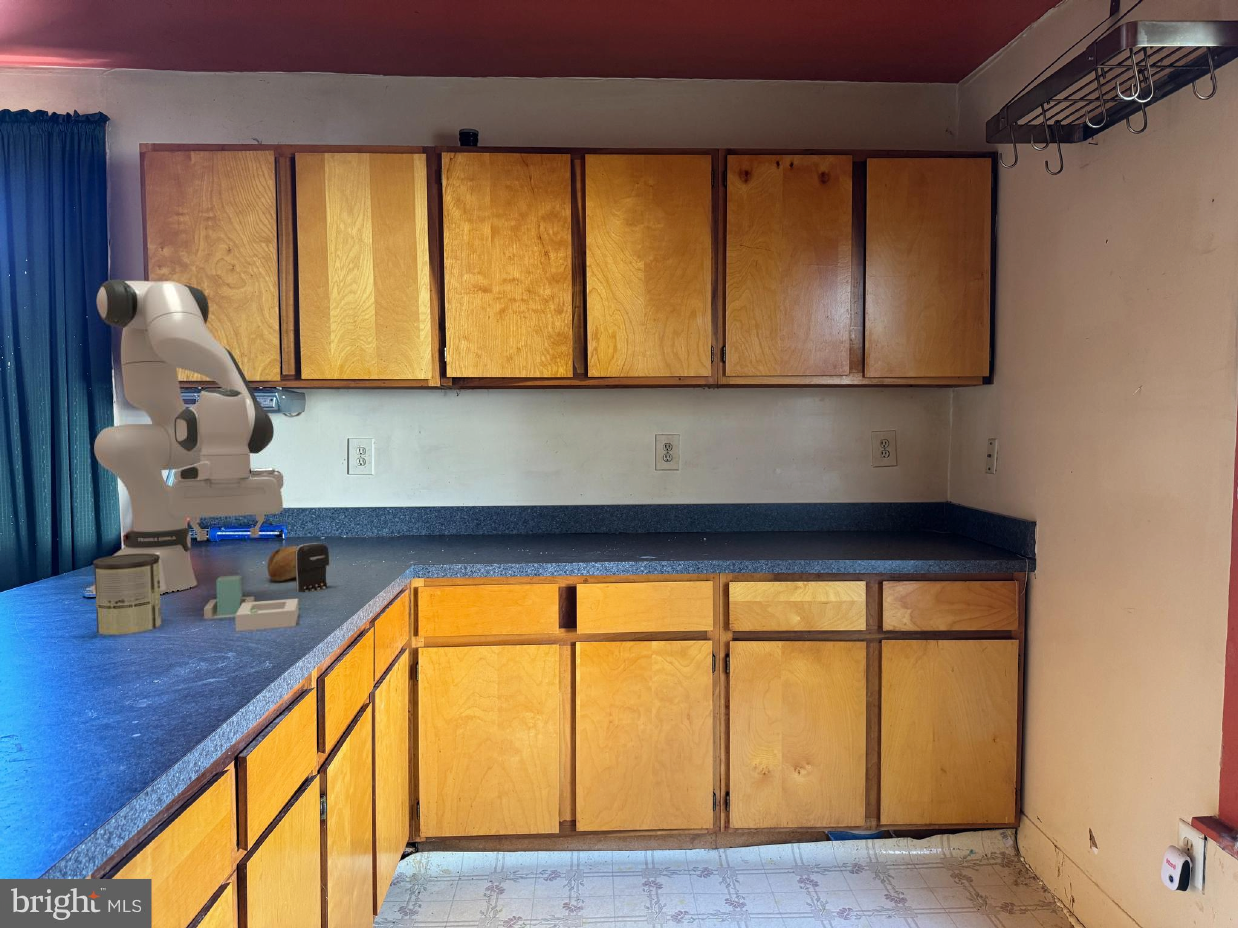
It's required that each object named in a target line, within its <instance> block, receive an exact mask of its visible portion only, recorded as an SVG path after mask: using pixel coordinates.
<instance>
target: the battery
mask: <svg viewBox="0 0 1238 928" xmlns="http://www.w3.org/2000/svg"><path fill="white" fill-rule="evenodd" d="M328 566H330V553H329V547H328V546H327V545H326V544H323V543H320V542H313V543H312V542H311V543H307V544H301V545H298V546H297V549H296V551H295V569H296V577H295V579H296V582H295V583H296V592H298V593H305V592H306V593H307V592H310V591H316V589H317V590H320V589H326V588H328V583H327V567H328Z"/></svg>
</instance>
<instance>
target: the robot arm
mask: <svg viewBox="0 0 1238 928" xmlns="http://www.w3.org/2000/svg"><path fill="white" fill-rule="evenodd" d="M96 307H97V310H98V313H99V315H100V317H101V319H102V321H104V322H105V324H107V325H109V326H112V327H117V328H121V329H122V335H121V342H120V343H121V344H120V360H121V361H120V362H121V363H120V364H121V372H122V381H123V391H124V394H123V395H124V396H125V399H126V400H127V402H128V403H130V405H132V406H133V407H135V408H137V409H139V410H142V411H143V412H144V413H145V414H146V415H147V416H148V417H149V418H150V421H151V423H135V424H134V423H125V424H119V425H114V426H109V427H106V428H103V429H102V430H101V431H100V432H99V433H98V435H97V437H96V438H95V441H94V446H93V447H94V449H93V452H94V455H95V457H96V460H97V461H98V463H99V464H100V465H101V466H102V467H103V468H105V470H107V471H110V472H111V473H112V474H114V475H115V476H116V477H117V478H118V479H119V480H120V481H121V483H122V484H123V486H124V487H125V489H126V491H127V494H128V497H129V499H130V506H131V507H130V508H131V514H132V529H130V530H127V531H126V532H125V534H123V535H122V539H121V540H122V543H123V546H124V547H122V548H121V549H120V550H118V551H117V552H116V553H114V554H113V555H112V556H116V555H124V554H140V553H147V554H148V553H149V554H157V555H159V556H160V559H159V576H160V594H161V595H163V593H165V592H168V593H173V592H172V591H174V592H178V591H177V590H179V591H184V590H187V589H190V587H191V588H193V587H195V586H197V585H198V582H197V580H196V576H195V574H194V570H193V566H192V561H191V556H190V555H191V554H190V553H191V552H190V550H191V547H192V546H191V545H192V542H191V541H192V540H191V530H190V527H189V526H188V519H189V525H190V526H191V527H192V528H193V530H194V532H195V533H196V539H197V542H198V541H206V540H207V539H208V535H207V533H208V532H207V530H202V528H201V527H200V526H199V524H198V523H200V522H201V521H200V519H201V518H215V517H232V516H233V517H234V516H235V517H237V516H253V515H254V516H255V521H258V522H257V523H256V525H255V527H251V528H249V532H250V538H259V537H260V527H261V525H262V524H263V522H264V521H265V515H277V514H280V513H281V512H282V510H283V508H284V501H283V496H282V491H281V490H282V488H283V487H284V475H283V473H282V472H281V471H280V470H276V469H275V467H273V468H272V467H271V468H251V454H260V453H261V452H262V451H264V450H265V449H267V447H268V446H269V445H270V443H272V441H273V439H274V435H275V434H274V429H275V428H274V424H273V421H272V418H271V417H270V415H269V414H268V412H267V411H266V410H265V408H263V406H262V405H261V403H260V401H259V400H258V399H257V397H256V395H255V393H254V391H253V388H252V386H251V385H250V383H249V381H248V380H247V377H246V376H245V374H244V372H243V370H242V368H241V367H240V364H239V363H238V361H237V359H236V357H235V356H234V355H233V353H232V352H231V350H230V349H228V348H226V347H225V346H224V345H222V344H221V343H220V342H218V340H217V339H216V338H214V336H213V335H212V334H211V332H210V331H209V329H208V328H207V326H206V324H207V323H208V319H209V316H210V306H209V300H208V297H207V295H206V294H205V293H204V291H203V290H201V289H200V288H198V287H195V286H191V285H188V284H184V285H183V284H181V283H179V282H177V281H172V280H165V281H157V280H154V281H151V280H150V281H148V280H124V279H111V280H106V281H104V282H103V283H102V284H101V285H100V287H99V290H98V293H97V296H96ZM178 369H181V370H185V371H189V372H191V373H195V374H198V375H201V376H204V377H206V378H208V379H211V380H213V381H214V382H215V383H217V384H218V385H219V386H220V387H211V388H210V387H209V388H206V389H203V390H202V391H200V393H199V399H198V401H197V402H196V403H195V404H194V405H192V406H190V407H186V404H185V403H184V400H183V396H182V394H181V388H180V382H179V377H178ZM170 470H171V471H172V470H174V471H173V477H174V480H176V482H174V483H173V484H172V485H170V484H168V483H167V482H166V480H165V479H164V476H163V471H170ZM89 587H90V588H89ZM89 587H87V588H85V589H86V590H92V591H93V593H91V592H90V593H86V594H96V589H95V583H94V585H92V586H89ZM85 592H86V591H85ZM165 594H166V593H165Z"/></svg>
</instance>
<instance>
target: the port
mask: <svg viewBox="0 0 1238 928" xmlns="http://www.w3.org/2000/svg"><path fill="white" fill-rule="evenodd" d="M235 616H236V617H235V632H244V631H245V632H246V631H247V632H248V631H257V630H268V629H270V630H271V629H280V628H281V629H282V628H291V627H292V628H293V627H296V625H297V621H298V617H299V598H291V599H290V598H289V599H275V600H264V601H263V600H262V601H254V602H247V603H242V605H241V606H240V608H239V610H238V611H237V613H236V615H235Z"/></svg>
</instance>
